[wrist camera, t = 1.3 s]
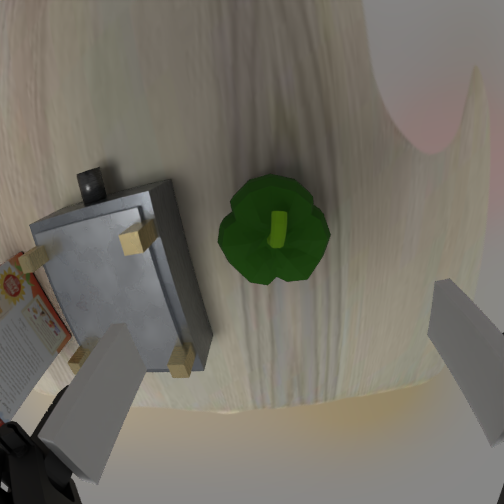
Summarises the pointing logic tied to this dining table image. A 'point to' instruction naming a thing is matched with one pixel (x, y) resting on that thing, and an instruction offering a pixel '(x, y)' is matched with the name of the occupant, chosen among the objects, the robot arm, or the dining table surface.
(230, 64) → the dining table surface
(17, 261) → the cracker box
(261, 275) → the bell pepper
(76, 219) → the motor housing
